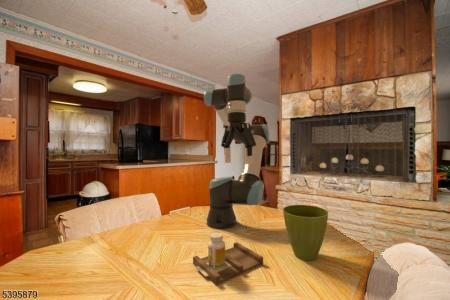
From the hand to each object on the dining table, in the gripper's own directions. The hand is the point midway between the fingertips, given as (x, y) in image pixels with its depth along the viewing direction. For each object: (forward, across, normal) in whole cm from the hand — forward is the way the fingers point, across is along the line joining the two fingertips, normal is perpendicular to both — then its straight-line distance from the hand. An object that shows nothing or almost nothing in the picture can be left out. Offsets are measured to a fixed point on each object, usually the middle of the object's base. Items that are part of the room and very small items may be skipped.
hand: (237, 163), depth 90 cm
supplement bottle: (+31, +13, -19) cm, 39 cm away
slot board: (+32, +13, -15) cm, 37 cm away
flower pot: (+32, +25, +10) cm, 42 cm away
